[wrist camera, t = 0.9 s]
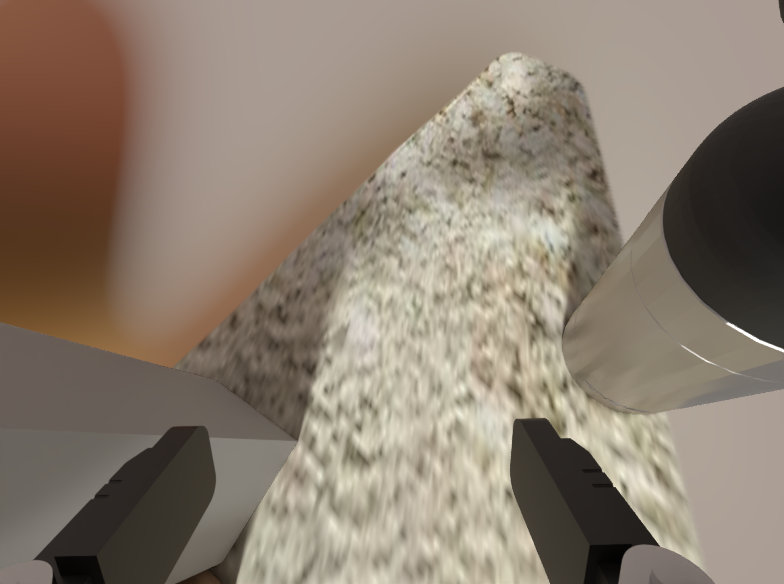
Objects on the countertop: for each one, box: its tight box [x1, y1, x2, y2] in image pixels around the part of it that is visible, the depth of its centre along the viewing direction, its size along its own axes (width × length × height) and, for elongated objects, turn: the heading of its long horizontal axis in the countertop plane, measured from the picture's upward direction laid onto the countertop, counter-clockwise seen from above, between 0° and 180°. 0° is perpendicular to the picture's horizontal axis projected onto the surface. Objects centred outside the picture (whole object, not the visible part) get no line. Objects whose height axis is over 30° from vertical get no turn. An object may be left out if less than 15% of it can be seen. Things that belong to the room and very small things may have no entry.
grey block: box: [0, 323, 298, 584], centre depth 21 cm, size 10×10×22 cm
